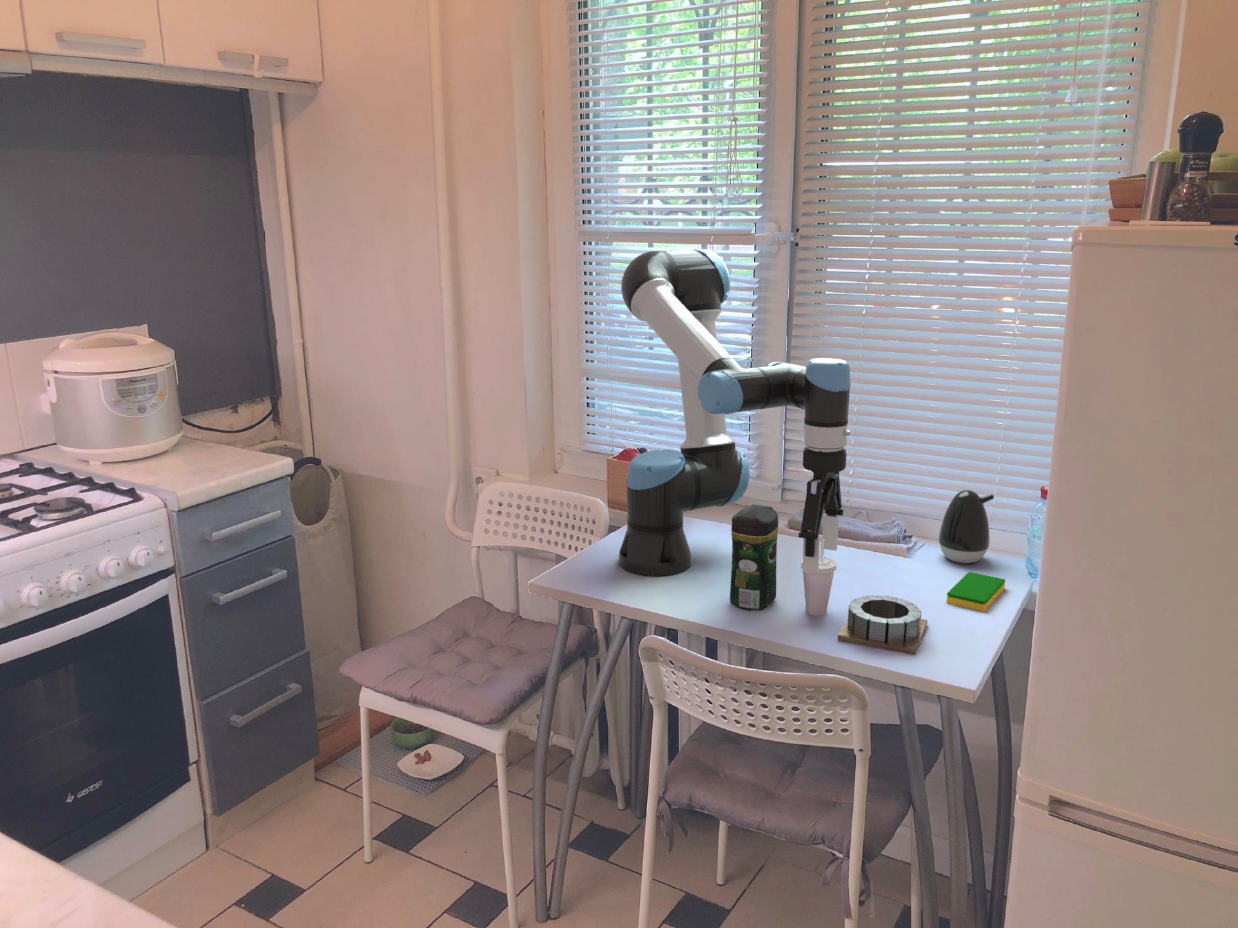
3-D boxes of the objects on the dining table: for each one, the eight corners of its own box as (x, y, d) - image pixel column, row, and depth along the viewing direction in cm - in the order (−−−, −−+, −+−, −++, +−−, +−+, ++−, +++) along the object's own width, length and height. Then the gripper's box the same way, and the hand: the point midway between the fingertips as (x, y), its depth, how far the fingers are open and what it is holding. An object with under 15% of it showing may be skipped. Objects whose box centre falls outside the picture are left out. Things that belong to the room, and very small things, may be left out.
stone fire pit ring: (837, 640, 167) (838, 616, 165) (854, 612, 178) (855, 589, 177) (914, 654, 161) (917, 630, 160) (927, 625, 172) (929, 601, 171)
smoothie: (839, 616, 176) (844, 544, 172) (806, 619, 175) (810, 547, 171) (825, 603, 182) (829, 532, 179) (793, 606, 181) (796, 535, 177)
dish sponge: (1004, 590, 189) (1005, 578, 188) (983, 613, 178) (985, 601, 178) (967, 582, 193) (968, 571, 192) (945, 604, 182) (946, 592, 182)
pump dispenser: (995, 568, 199) (1002, 497, 195) (944, 567, 200) (951, 497, 196) (979, 551, 209) (986, 483, 205) (931, 550, 209) (936, 483, 206)
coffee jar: (741, 589, 189) (744, 499, 184) (780, 597, 185) (784, 504, 180) (723, 607, 180) (725, 513, 176) (763, 615, 177) (767, 519, 172)
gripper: (828, 465, 158) (823, 586, 163) (861, 434, 180) (856, 542, 185) (784, 460, 161) (780, 580, 166) (821, 431, 183) (817, 537, 188)
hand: (820, 560), depth 176 cm, fingers open, 13 cm apart
